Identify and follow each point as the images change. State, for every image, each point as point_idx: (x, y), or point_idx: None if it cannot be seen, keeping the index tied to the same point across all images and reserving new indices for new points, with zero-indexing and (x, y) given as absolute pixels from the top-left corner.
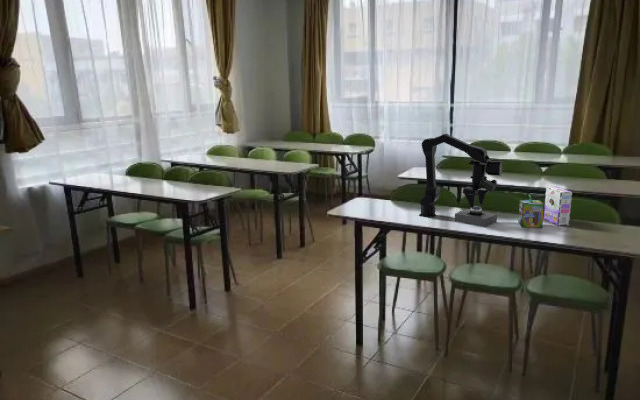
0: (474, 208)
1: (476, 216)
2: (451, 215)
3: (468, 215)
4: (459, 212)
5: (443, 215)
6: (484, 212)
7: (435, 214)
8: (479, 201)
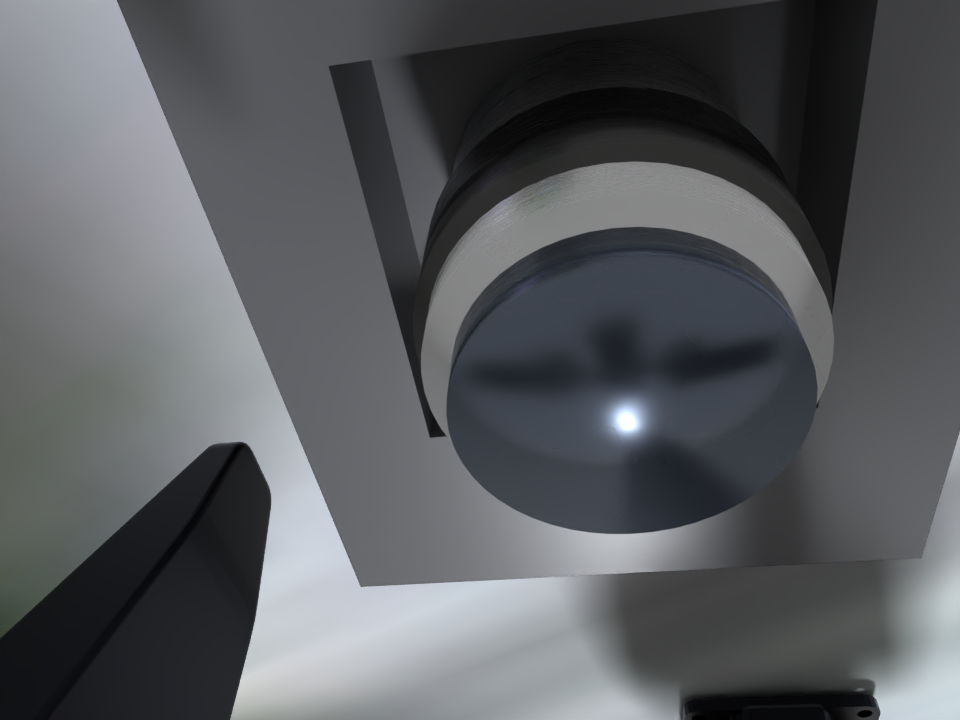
0: (804, 369)
1: (941, 55)
2: (516, 605)
3: (946, 290)
4: (758, 546)
5: (607, 654)
6: (245, 193)
7: (704, 712)
8: (256, 596)
